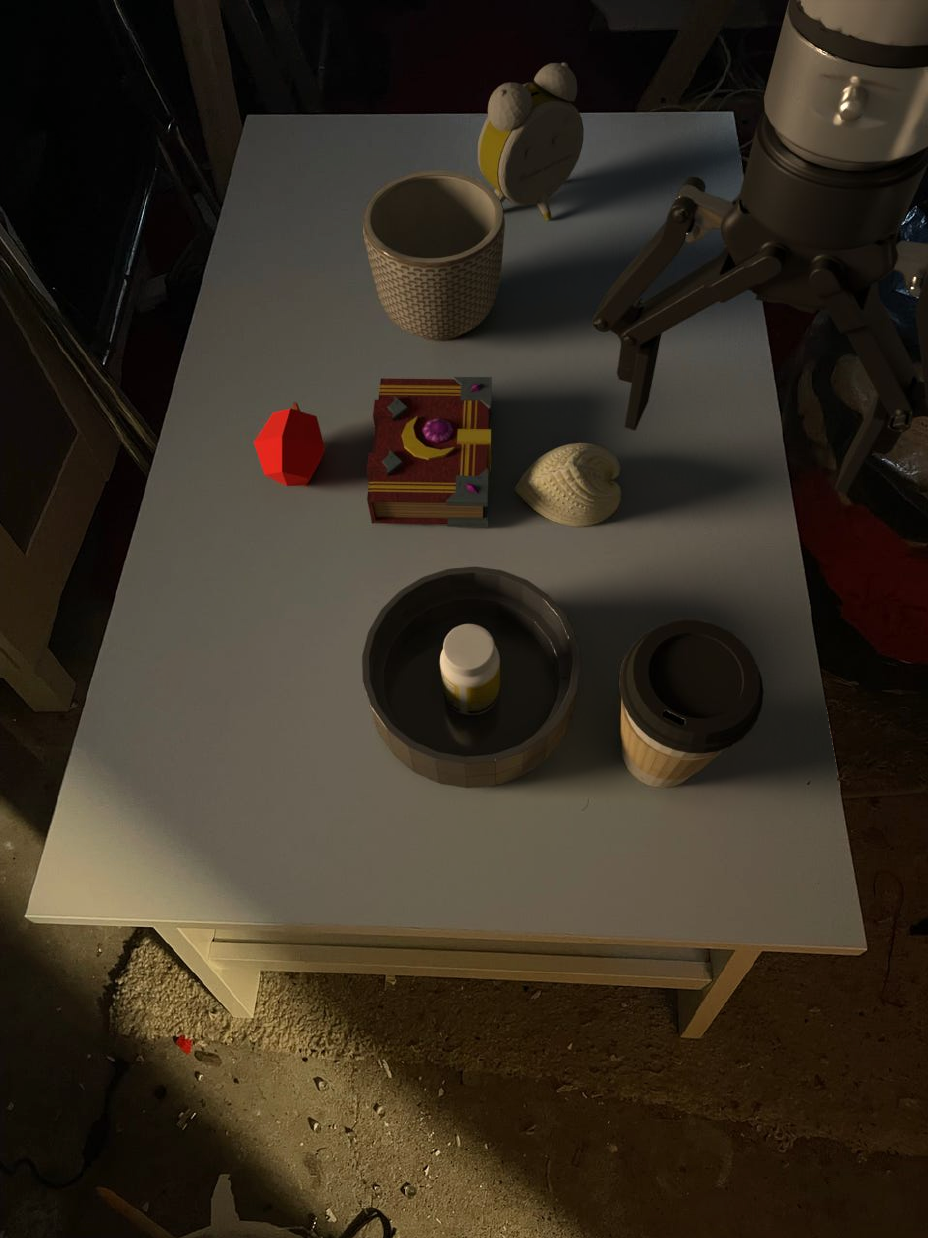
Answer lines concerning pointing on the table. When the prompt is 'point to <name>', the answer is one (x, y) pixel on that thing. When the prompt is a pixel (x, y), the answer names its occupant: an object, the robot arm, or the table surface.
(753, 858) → the table surface
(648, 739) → the coffee cup
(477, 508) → the decorative book
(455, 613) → the bowl
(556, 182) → the alarm clock
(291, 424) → the apple
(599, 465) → the seashell
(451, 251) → the planter
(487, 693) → the supplement bottle
